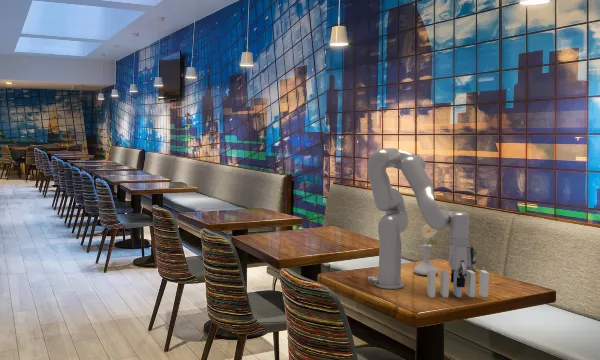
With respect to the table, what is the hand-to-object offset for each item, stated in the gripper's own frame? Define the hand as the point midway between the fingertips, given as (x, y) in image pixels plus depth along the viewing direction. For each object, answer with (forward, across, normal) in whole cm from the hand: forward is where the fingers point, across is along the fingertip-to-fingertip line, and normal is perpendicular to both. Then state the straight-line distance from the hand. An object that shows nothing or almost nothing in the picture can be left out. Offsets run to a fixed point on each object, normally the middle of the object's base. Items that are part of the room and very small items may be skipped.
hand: (457, 284), depth 244 cm
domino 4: (+5, 0, +6) cm, 7 cm away
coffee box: (+5, -24, +11) cm, 27 cm away
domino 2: (+5, 0, -6) cm, 7 cm away
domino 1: (+5, 0, -11) cm, 12 cm away
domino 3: (+5, 0, 0) cm, 5 cm away
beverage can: (+5, -38, +17) cm, 42 cm away
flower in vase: (+5, -36, -3) cm, 36 cm away
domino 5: (+5, 0, +11) cm, 12 cm away
